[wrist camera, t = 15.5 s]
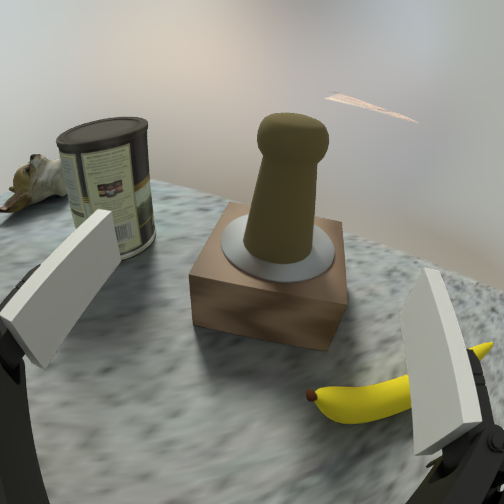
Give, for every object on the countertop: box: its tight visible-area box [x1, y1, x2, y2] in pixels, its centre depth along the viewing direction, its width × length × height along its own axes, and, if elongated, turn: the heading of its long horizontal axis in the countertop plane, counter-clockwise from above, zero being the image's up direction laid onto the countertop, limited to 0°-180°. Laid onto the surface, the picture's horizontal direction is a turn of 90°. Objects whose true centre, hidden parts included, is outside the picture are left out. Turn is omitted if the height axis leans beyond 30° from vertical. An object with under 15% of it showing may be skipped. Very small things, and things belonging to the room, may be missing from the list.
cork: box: [243, 113, 329, 264], centre depth 23 cm, size 6×6×11 cm
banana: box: [306, 342, 494, 424], centre depth 19 cm, size 3×19×6 cm, turn 100°
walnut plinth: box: [189, 202, 347, 351], centre depth 29 cm, size 12×12×6 cm
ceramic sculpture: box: [0, 154, 67, 213], centre depth 40 cm, size 11×9×15 cm
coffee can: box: [56, 117, 156, 260], centre depth 32 cm, size 10×10×14 cm
